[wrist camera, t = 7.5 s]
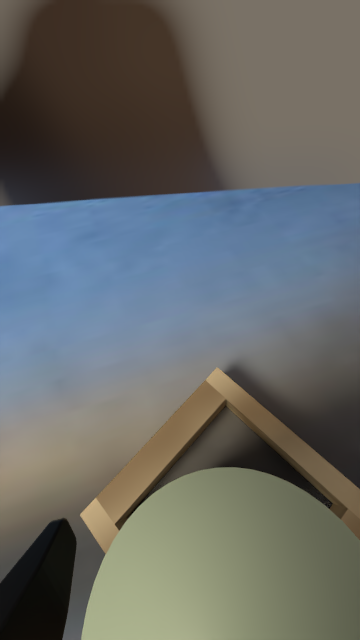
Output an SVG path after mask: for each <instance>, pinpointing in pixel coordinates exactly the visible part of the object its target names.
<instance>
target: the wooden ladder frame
mask: <svg viewBox="0 0 360 640" xmlns="http://www.w3.org/2000/svg"><path fill="white" fill-rule="evenodd" d="M225 406H227V407H228V408H229V409H230V410H231V411H232V412H233V413H234V414H235V415H236V416H238V417H239V418H240V419H241V420H242V421H243V422H244V423H245V424H246V425H247V426H248V427H250V428H251V429H252V430H253V431H254V432H255V433H256V434H257V435H258V436H259V437H261V438H262V439H263V440H264V441H265V442H266V443H267V444H268V445H269V446H270V447H271V448H273V449H274V450H275V451H276V452H277V453H278V454H279V455H280V456H281V457H282V458H284V459H285V460H286V461H287V462H288V463H289V464H290V465H291V466H292V467H293V468H294V469H296V470H297V471H298V472H299V473H300V474H301V475H302V476H303V477H304V478H305V479H307V480H308V481H309V482H310V483H311V484H312V485H313V486H314V487H315V488H316V489H317V490H319V491H320V492H321V493H322V494H323V495H324V496H325V497H326V498H327V499H328V500H330V501H331V502H332V503H333V504H332V506H331V507H330V510H331V511H332V512H333V513H334V514H335V515H336V516H337V517H338V518H340V519H341V520H342V521H343V522H344V523H345V524H346V526H347V527H348V528H349V529H350V530H351V531H352V532H353V533H354V534H355V536H356V537H357V538H358V539H359V540H360V489H359V488H358V487H357V486H355V485H354V484H353V483H352V482H351V481H350V480H348V479H347V478H346V477H345V476H344V475H343V474H341V473H340V472H339V471H338V470H337V469H336V468H334V467H333V466H332V465H331V464H330V463H329V462H327V461H326V460H325V459H324V458H323V457H322V456H320V455H319V454H318V453H317V452H316V451H315V450H313V449H312V448H311V447H310V446H309V445H307V444H306V443H305V442H304V441H303V440H302V439H300V438H299V437H298V436H297V435H296V434H295V433H293V432H292V431H291V430H290V429H289V428H288V427H286V426H285V425H284V424H283V423H282V422H281V421H279V420H278V419H277V418H276V417H275V416H274V415H272V414H271V413H270V412H269V411H268V410H267V409H265V408H264V407H263V406H262V405H261V404H260V403H258V402H257V401H256V400H255V399H254V398H253V397H251V396H250V395H249V394H248V393H247V392H246V391H244V390H243V389H242V388H241V387H240V386H239V385H237V384H236V383H235V382H234V381H233V380H231V379H230V378H229V377H228V376H227V375H226V374H224V373H223V372H222V371H221V370H220V369H219V368H216V369H215V370H214V371H213V372H212V373H211V375H210V376H209V377H208V378H207V379H206V380H205V381H204V382H203V383H202V384H201V385H200V386H199V387H198V388H197V390H196V391H195V392H194V393H193V394H192V395H191V396H190V397H189V398H188V399H187V400H186V401H185V402H184V404H183V405H182V406H181V407H180V408H179V409H178V410H177V411H176V412H175V413H174V414H173V415H172V416H171V418H170V419H169V420H168V421H167V422H166V423H165V424H164V425H163V426H162V427H161V428H160V429H159V430H158V431H157V433H156V434H155V435H154V436H153V437H152V438H151V439H150V440H149V441H148V442H147V443H146V444H145V445H144V447H143V448H142V449H141V450H140V451H139V452H138V453H137V454H136V455H135V456H134V457H133V458H132V459H131V460H130V462H129V463H128V464H127V465H126V466H125V467H124V468H123V469H122V470H121V471H120V472H119V473H118V474H117V476H116V477H115V478H114V479H113V480H112V481H111V482H110V483H109V484H108V485H107V486H106V487H105V488H104V489H103V491H102V492H101V493H100V494H99V495H98V496H97V497H96V498H95V499H94V500H93V501H92V502H91V503H90V505H89V506H88V507H87V508H86V509H85V510H84V511H83V512H82V513H81V514H80V516H81V517H82V519H83V520H84V522H85V523H86V525H87V526H88V528H89V529H90V531H91V532H92V534H93V535H94V537H95V538H96V540H97V541H98V543H99V545H100V546H101V548H102V549H103V551H104V552H105V554H106V553H107V551H108V550H109V548H110V546H111V544H112V542H113V540H114V538H115V537H116V535H117V534H118V532H119V531H120V529H121V528H122V526H123V525H124V523H125V522H126V521H127V520H128V519H127V517H128V516H129V515H130V514H131V513H132V511H133V510H134V509H135V508H136V507H137V506H138V505H139V504H140V502H141V501H142V500H143V499H144V498H145V497H146V496H147V494H148V493H149V492H150V491H151V490H152V489H153V488H154V487H155V485H156V484H157V483H158V482H159V481H160V480H161V479H162V477H163V476H164V475H165V474H166V473H167V472H168V471H169V469H170V468H171V467H172V466H173V465H174V464H175V463H176V462H177V460H178V459H179V458H180V457H181V456H182V455H183V454H184V452H185V451H186V450H187V449H188V448H189V447H190V446H191V444H192V443H193V442H194V441H195V440H196V439H197V438H198V437H199V435H200V434H201V433H202V432H203V431H204V430H205V429H206V427H207V426H208V425H209V424H210V423H211V422H212V421H213V419H214V418H215V417H216V416H217V415H218V414H219V413H220V412H221V410H222V409H223V408H224V407H225Z"/></svg>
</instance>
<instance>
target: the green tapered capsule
mask: <svg viewBox="0 0 360 640" xmlns="http://www.w3.org/2000/svg"><path fill="white" fill-rule="evenodd" d="M81 640H360V540H359V539H358V538H357V537H356V536H355V534H354V533H353V532H352V531H351V530H350V529H349V528H348V527H347V526H346V524H345V523H344V522H343V521H342V520H341V519H340V518H338V517H337V516H336V515H335V514H334V513H333V512H332V511H331V510H330V509H328V508H327V507H326V506H325V505H324V504H322V503H321V502H320V501H318V500H317V499H316V498H314V497H313V496H311V495H310V494H309V493H307V492H306V491H304V490H302V489H300V488H299V487H297V486H295V485H293V484H292V483H290V482H288V481H285V480H283V479H281V478H278V477H276V476H273V475H271V474H267V473H264V472H260V471H256V470H252V469H245V468H237V467H220V468H211V469H205V470H200V471H197V472H193V473H190V474H187V475H184V476H182V477H180V478H178V479H176V480H174V481H172V482H170V483H168V484H166V485H165V486H163V487H162V488H161V489H159V490H158V491H156V492H155V493H153V494H152V495H151V496H150V497H149V498H148V499H147V500H145V501H144V502H143V503H142V504H141V505H140V506H139V507H138V508H137V509H136V510H135V511H134V513H133V514H132V515H131V516H130V517H129V518H128V520H127V521H126V522H125V523H124V525H123V526H122V528H121V529H120V531H119V532H118V534H117V535H116V537H115V538H114V540H113V542H112V544H111V546H110V548H109V550H108V551H107V553H106V555H105V557H104V559H103V562H102V564H101V567H100V569H99V572H98V574H97V577H96V579H95V582H94V585H93V588H92V592H91V595H90V599H89V602H88V606H87V610H86V616H85V621H84V626H83V631H82V639H81Z"/></svg>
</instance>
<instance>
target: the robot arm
mask: <svg viewBox="0 0 360 640" xmlns="http://www.w3.org/2000/svg"><path fill="white" fill-rule="evenodd" d="M75 553H76V537H75V535H74V533H73V530H72V528H71V526H70V524H69V522H68V520H67V519H65V518H61V519H57V520H53V521H51V522H50V523H49V524H48V525H47V527H46V528H45V529H44V530H43V532H42V533H41V534H40V535H39V536H38V538H37V539H36V540H35V541H34V542H33V544H32V545H31V546H30V547H29V549H28V550H27V551H26V552H25V553H24V555H23V556H22V557H21V558H20V560H19V561H18V562H17V563H16V564H15V566H14V567H13V568H12V569H11V571H10V572H9V573H8V574H7V575H6V577H5V578H4V579H3V580H2V582H1V583H0V640H62V638H63V633H64V629H65V624H66V619H67V613H68V607H69V600H70V593H71V585H72V577H73V569H74V561H75Z"/></svg>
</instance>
